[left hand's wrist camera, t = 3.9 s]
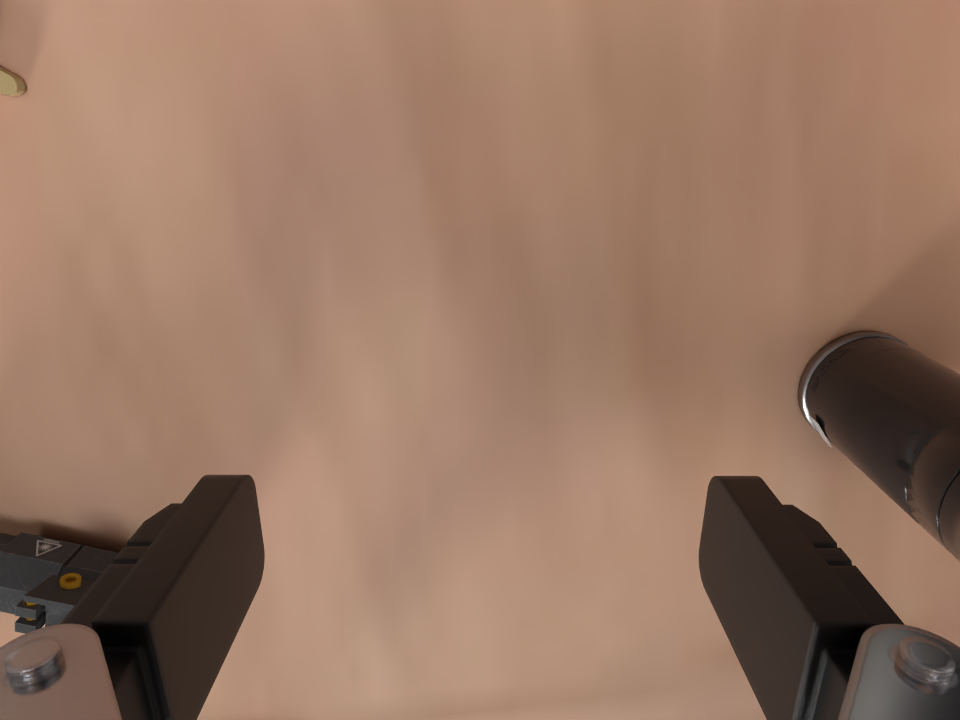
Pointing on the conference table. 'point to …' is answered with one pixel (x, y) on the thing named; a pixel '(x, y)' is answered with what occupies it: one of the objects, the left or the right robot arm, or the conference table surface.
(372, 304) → the conference table surface
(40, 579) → the laser sight
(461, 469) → the conference table surface
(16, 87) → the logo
